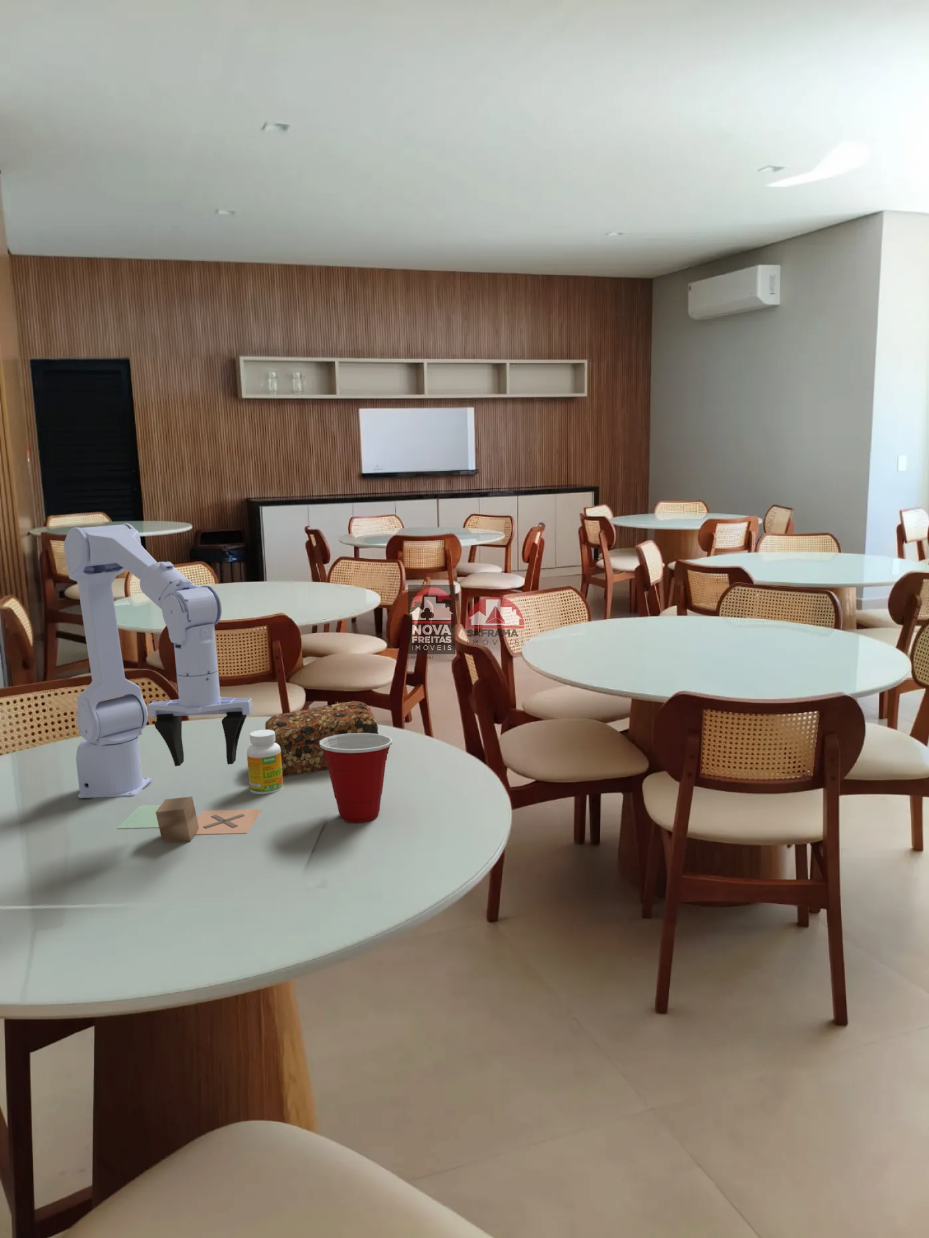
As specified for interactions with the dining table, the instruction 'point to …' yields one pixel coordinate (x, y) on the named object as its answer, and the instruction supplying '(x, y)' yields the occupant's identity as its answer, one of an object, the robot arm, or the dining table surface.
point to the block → (177, 820)
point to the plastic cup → (357, 773)
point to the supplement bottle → (264, 763)
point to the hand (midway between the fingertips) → (205, 763)
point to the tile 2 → (226, 821)
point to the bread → (316, 733)
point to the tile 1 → (142, 818)
